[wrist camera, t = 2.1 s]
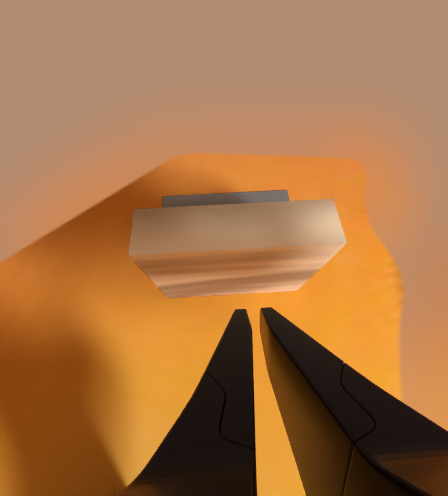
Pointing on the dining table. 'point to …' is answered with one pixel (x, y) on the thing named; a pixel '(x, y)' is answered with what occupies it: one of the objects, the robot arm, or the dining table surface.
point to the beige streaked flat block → (235, 246)
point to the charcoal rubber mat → (225, 198)
